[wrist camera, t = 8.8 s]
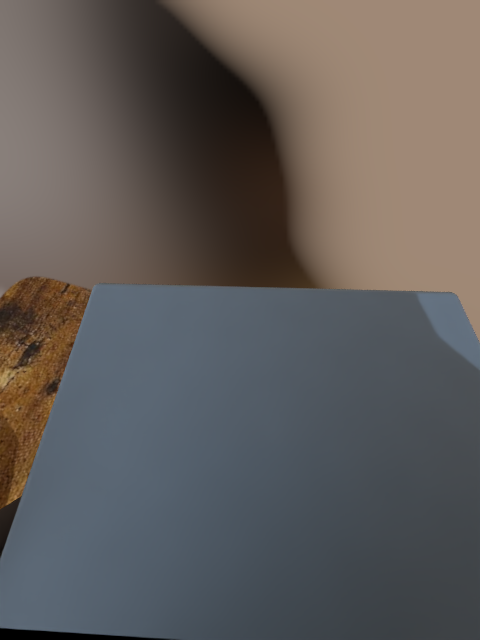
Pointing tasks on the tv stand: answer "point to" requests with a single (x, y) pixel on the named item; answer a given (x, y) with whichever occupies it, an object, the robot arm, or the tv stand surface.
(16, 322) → the tv stand surface
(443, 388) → the blue rectangular block
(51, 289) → the tv stand surface
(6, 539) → the robot arm
